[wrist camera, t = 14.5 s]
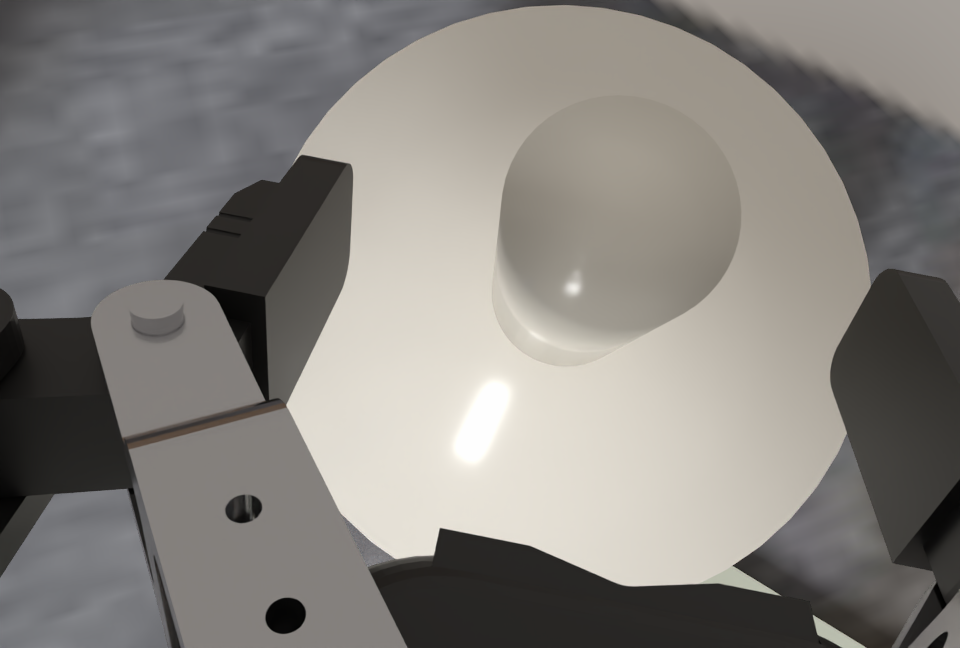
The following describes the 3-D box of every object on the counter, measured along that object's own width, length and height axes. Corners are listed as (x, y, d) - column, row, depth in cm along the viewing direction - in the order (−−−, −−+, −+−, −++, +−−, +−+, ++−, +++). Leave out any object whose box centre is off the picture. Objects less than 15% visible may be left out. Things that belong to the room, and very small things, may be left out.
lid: (157, 401, 20) (-85, 384, 11) (460, -66, 21) (450, -389, 13) (673, 719, 19) (836, 965, 10) (947, 203, 20) (1281, 46, 12)
